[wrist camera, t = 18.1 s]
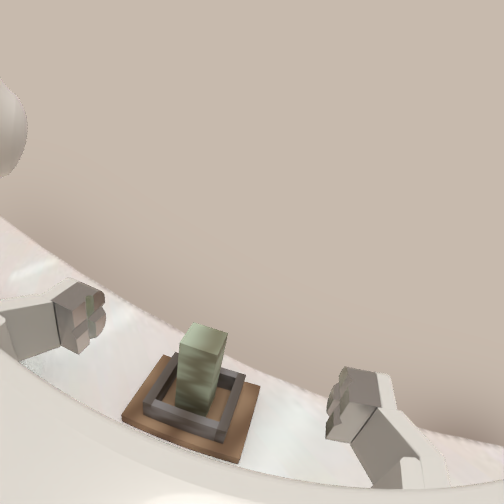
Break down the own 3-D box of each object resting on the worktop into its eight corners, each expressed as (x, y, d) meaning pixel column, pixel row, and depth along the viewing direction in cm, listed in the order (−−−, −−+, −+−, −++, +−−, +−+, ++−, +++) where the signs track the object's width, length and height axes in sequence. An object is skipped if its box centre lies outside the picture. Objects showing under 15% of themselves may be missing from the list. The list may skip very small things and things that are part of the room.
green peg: (174, 407, 37) (179, 342, 33) (185, 386, 41) (193, 322, 37) (205, 418, 37) (217, 355, 32) (214, 396, 41) (227, 333, 36)
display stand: (122, 421, 34) (119, 401, 32) (163, 361, 47) (164, 340, 45) (237, 463, 32) (244, 447, 31) (258, 392, 45) (264, 372, 43)
